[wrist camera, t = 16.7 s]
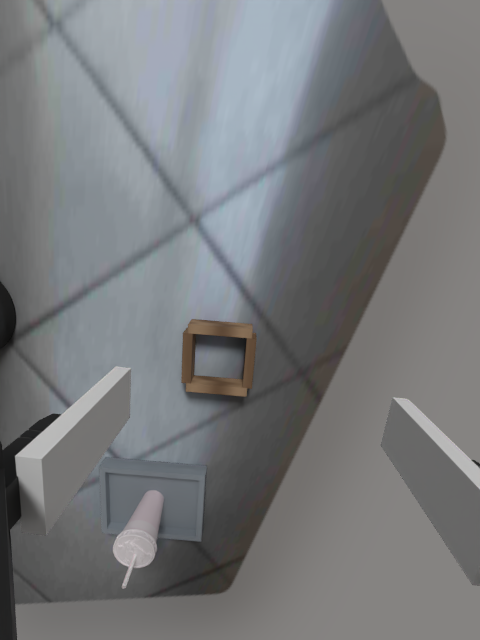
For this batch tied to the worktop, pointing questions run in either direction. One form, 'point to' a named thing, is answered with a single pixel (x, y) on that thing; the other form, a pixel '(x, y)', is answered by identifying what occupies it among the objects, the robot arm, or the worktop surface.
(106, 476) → the tray
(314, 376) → the worktop surface
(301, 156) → the worktop surface
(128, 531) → the smoothie
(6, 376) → the worktop surface
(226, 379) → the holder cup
